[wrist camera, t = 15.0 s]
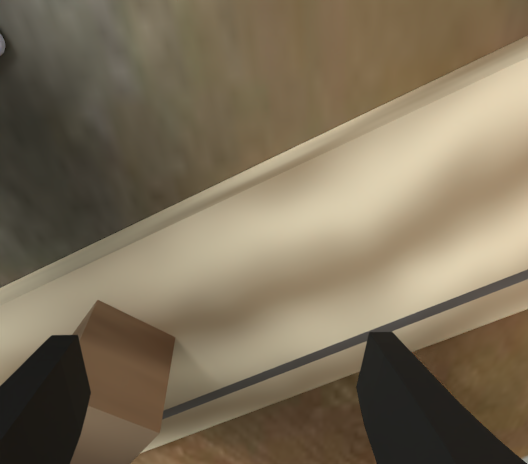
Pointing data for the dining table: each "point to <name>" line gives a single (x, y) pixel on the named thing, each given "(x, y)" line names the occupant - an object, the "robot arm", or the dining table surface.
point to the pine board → (315, 252)
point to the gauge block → (121, 385)
